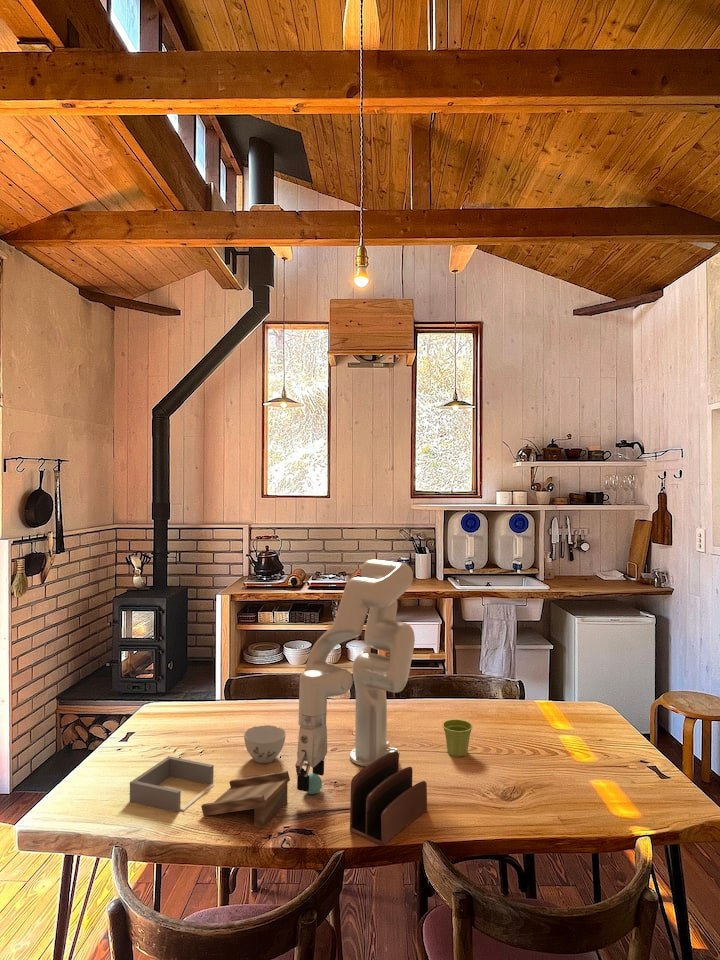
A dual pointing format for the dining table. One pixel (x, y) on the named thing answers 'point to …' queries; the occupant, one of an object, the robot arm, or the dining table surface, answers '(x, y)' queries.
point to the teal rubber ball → (314, 783)
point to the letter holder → (385, 799)
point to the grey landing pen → (167, 798)
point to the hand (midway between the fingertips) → (310, 782)
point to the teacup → (264, 742)
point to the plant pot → (457, 736)
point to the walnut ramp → (253, 797)
